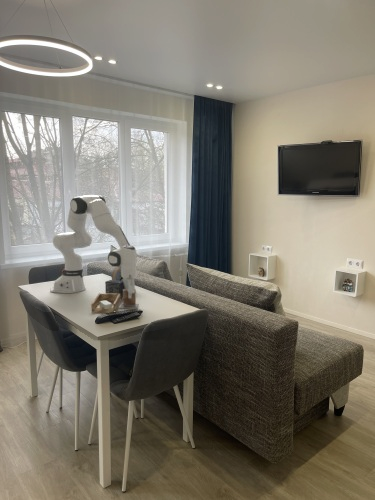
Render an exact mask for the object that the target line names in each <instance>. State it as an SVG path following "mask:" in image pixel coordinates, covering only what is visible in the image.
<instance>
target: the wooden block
mask: <svg viewBox="0 0 375 500" xmlns="http://www.w3.org/2000/svg"><path fill="white" fill-rule="evenodd" d="M136 291H137V290H136V289H135V293H132V298H128V291H127V289H123V298H122V304H123V306H128V305H136V304H137V301H136V299H137V295H136V294H137V293H136Z"/></svg>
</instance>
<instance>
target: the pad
mask: <svg viewBox="0 0 375 500" xmlns="http://www.w3.org/2000/svg"><path fill="white" fill-rule="evenodd" d="M139 305H140V304H139V303H136V305H128V306H123V303H121V305H120V307H119V309H121V310H123V309H124V310H125V309H128V310H130V309H133V310H134V309H135V310H137V309H138V308H139Z"/></svg>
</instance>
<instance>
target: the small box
mask: <svg viewBox="0 0 375 500" xmlns="http://www.w3.org/2000/svg"><path fill="white" fill-rule="evenodd" d="M104 283H105V294H120V300H121V299H122V300H123V289H124V282H123V281H116V280H112V279H109V280H106V281H105V282H104Z"/></svg>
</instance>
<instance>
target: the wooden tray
mask: <svg viewBox="0 0 375 500" xmlns="http://www.w3.org/2000/svg"><path fill="white" fill-rule="evenodd" d="M105 300H107V301H108V302H110V303H113V304H112V306H113V307H114V309H96V307H97V306H99V305H100V301H105ZM120 303H121V299H120V294H106V293H98V294H97V296H95V298H94V299H93V301H92V302H91V313H92V314H94V313H97V314H98V313H99V314H100V313H103V314H104V313H107V312H114V311H116V312H117V310H118V308H119V306H120ZM107 314H108V313H107Z"/></svg>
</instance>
